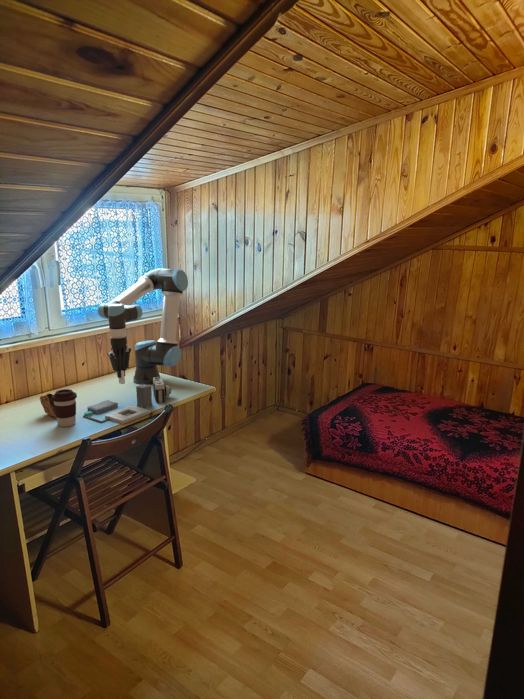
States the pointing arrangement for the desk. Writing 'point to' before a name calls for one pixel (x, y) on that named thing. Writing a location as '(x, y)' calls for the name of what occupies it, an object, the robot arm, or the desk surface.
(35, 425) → the desk surface
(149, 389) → the charger block
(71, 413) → the coffee cup
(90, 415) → the cable
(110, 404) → the flat grey block
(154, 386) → the camera
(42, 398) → the decorative rock
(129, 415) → the outlet plate
